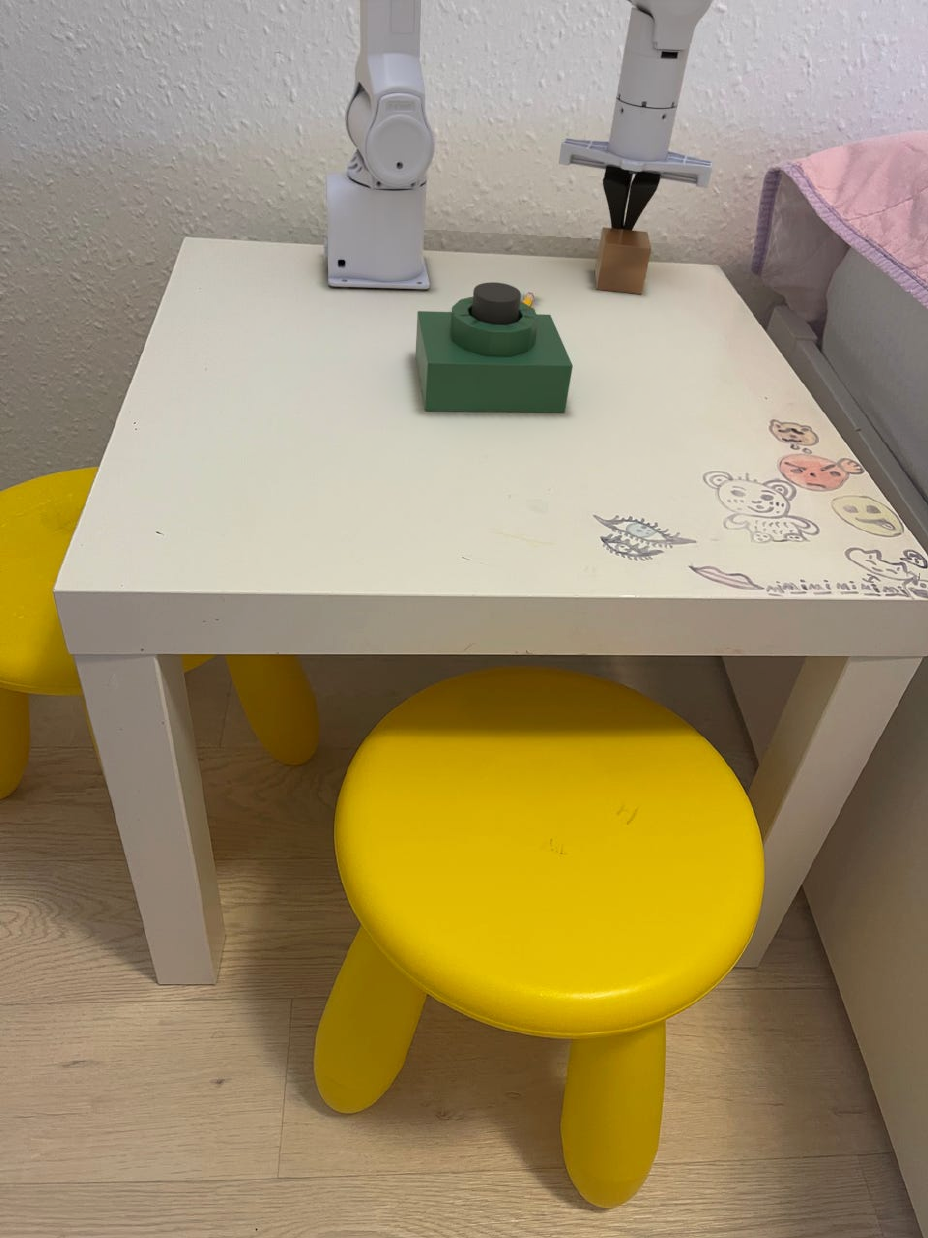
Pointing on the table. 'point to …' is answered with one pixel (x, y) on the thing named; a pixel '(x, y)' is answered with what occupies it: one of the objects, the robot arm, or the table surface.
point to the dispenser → (491, 362)
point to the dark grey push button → (496, 303)
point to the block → (622, 260)
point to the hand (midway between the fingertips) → (618, 248)
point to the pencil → (528, 299)
